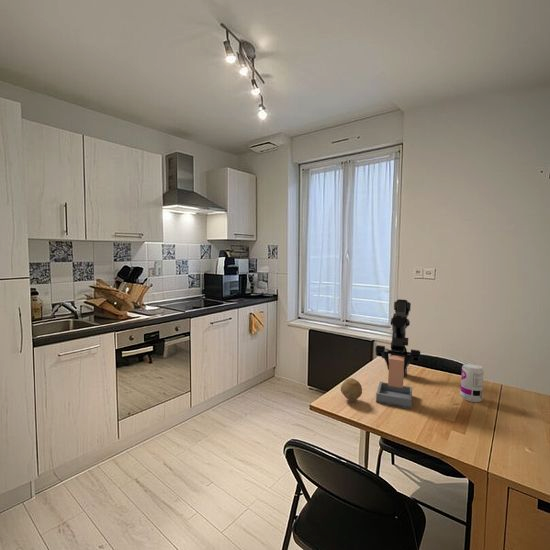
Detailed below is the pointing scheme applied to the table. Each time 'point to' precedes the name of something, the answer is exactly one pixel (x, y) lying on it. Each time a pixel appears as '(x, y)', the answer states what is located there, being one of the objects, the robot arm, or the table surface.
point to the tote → (394, 395)
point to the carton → (396, 371)
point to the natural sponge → (351, 389)
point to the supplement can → (472, 382)
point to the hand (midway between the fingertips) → (396, 370)
